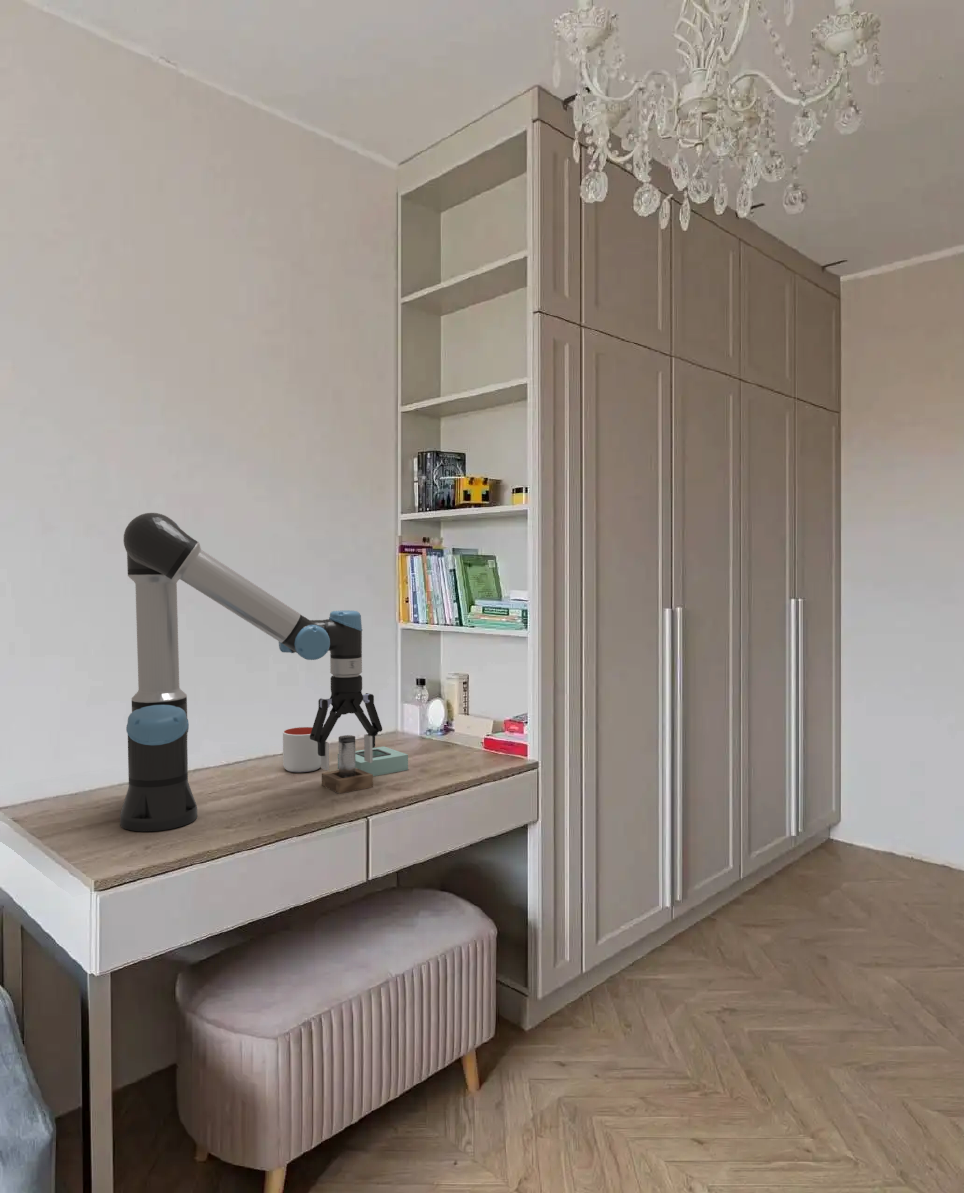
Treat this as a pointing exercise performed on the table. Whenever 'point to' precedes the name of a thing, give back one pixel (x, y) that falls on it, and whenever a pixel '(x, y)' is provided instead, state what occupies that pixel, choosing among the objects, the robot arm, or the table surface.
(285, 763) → the cup
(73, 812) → the table surface
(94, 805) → the table surface
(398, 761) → the block
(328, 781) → the brown wooden square tray
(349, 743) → the plug
